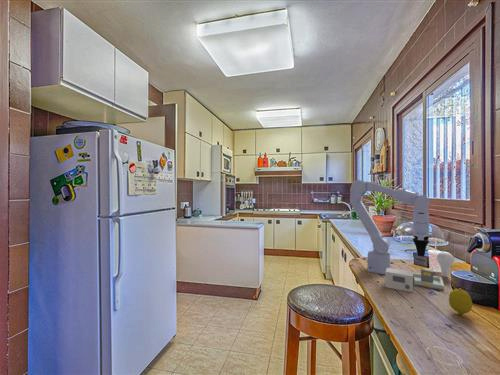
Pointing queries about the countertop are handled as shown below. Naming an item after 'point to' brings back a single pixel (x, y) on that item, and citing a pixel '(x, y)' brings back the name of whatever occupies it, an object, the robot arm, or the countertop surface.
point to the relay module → (427, 275)
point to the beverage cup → (434, 260)
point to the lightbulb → (445, 262)
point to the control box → (400, 279)
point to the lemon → (460, 301)
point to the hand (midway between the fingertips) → (421, 254)
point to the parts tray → (436, 282)
